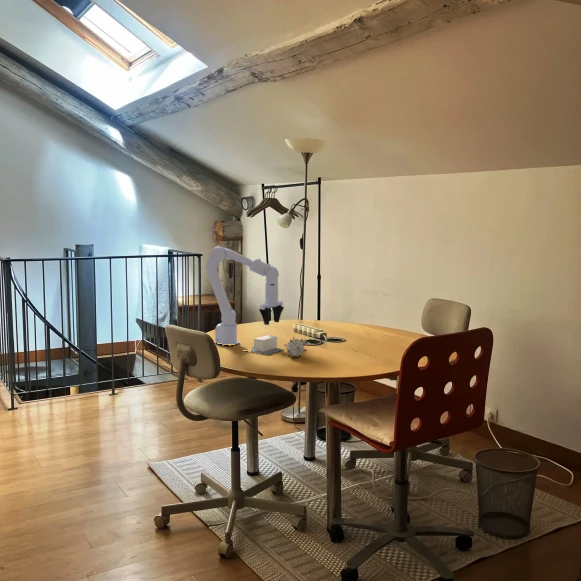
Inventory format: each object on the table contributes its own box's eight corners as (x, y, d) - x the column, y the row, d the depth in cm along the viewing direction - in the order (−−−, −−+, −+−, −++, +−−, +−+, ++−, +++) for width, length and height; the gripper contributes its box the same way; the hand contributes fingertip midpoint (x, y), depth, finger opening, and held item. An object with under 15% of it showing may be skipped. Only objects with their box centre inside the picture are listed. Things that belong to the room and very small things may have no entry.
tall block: (267, 346, 271) (254, 350, 263) (267, 334, 270) (254, 338, 262) (277, 347, 268) (263, 351, 260) (277, 336, 268) (263, 340, 259)
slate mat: (241, 350, 263) (241, 350, 263) (258, 346, 273) (258, 345, 273) (267, 355, 255) (267, 354, 255) (284, 350, 265) (284, 349, 265)
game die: (293, 367, 251) (283, 350, 246) (288, 355, 258) (278, 338, 253) (312, 356, 251) (302, 339, 246) (307, 345, 258) (297, 328, 253)
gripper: (269, 295, 266) (269, 326, 268) (288, 292, 278) (288, 322, 280) (256, 294, 270) (256, 324, 272) (275, 291, 282) (275, 320, 284)
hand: (271, 323), depth 276 cm, fingers open, 7 cm apart
